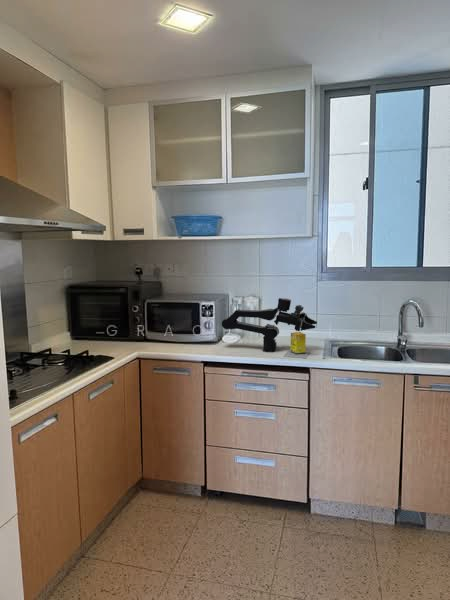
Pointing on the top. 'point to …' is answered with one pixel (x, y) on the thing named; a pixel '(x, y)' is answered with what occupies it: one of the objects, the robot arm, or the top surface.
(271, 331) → the robot arm
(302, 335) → the supplement box
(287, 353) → the mat
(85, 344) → the top surface
